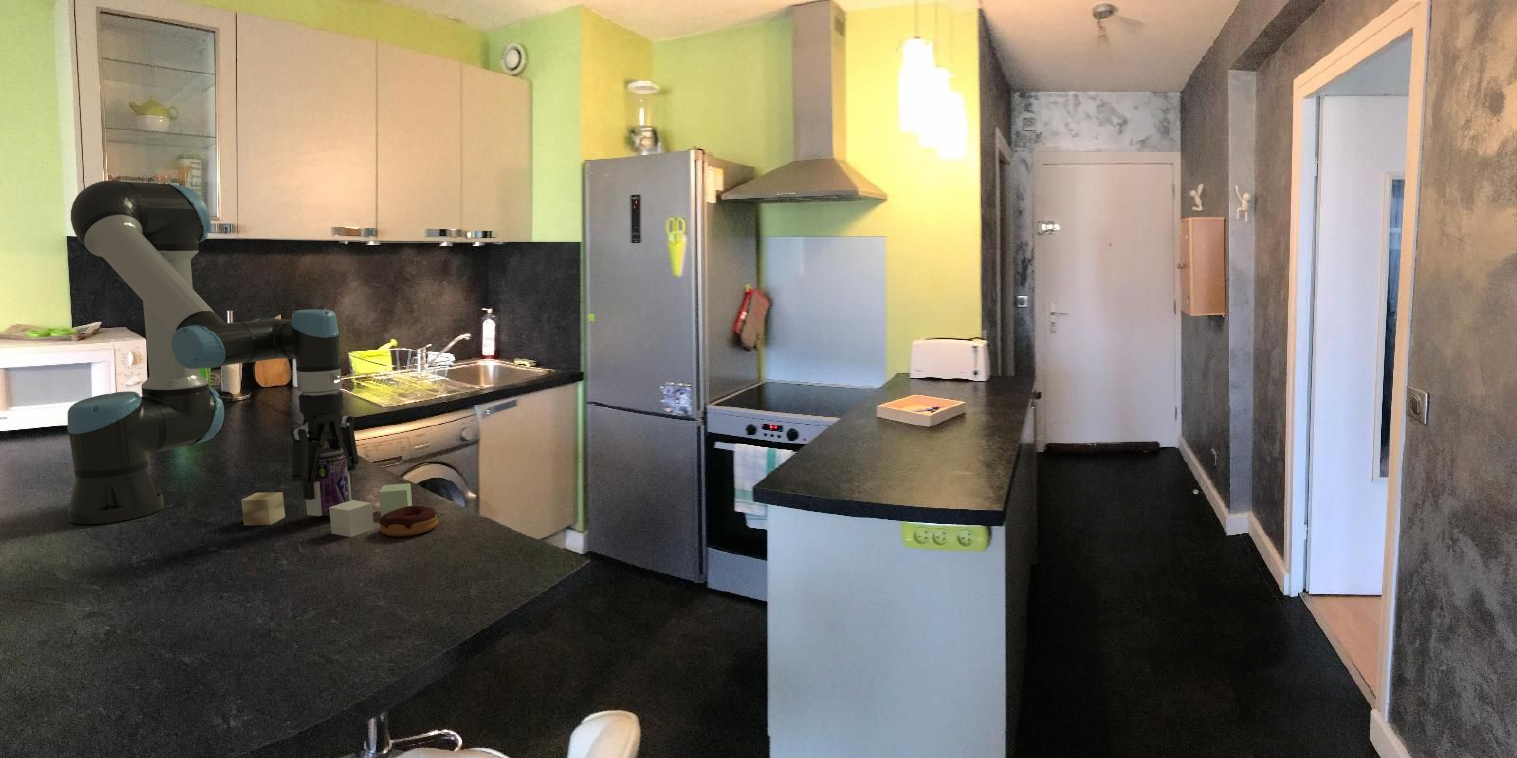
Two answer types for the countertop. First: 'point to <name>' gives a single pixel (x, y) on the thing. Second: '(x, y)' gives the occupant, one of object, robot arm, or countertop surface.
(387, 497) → the sage cube
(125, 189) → the robot arm
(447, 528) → the countertop surface
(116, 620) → the countertop surface
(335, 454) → the beverage can
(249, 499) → the beech cube
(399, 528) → the donut
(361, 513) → the off-white cube
